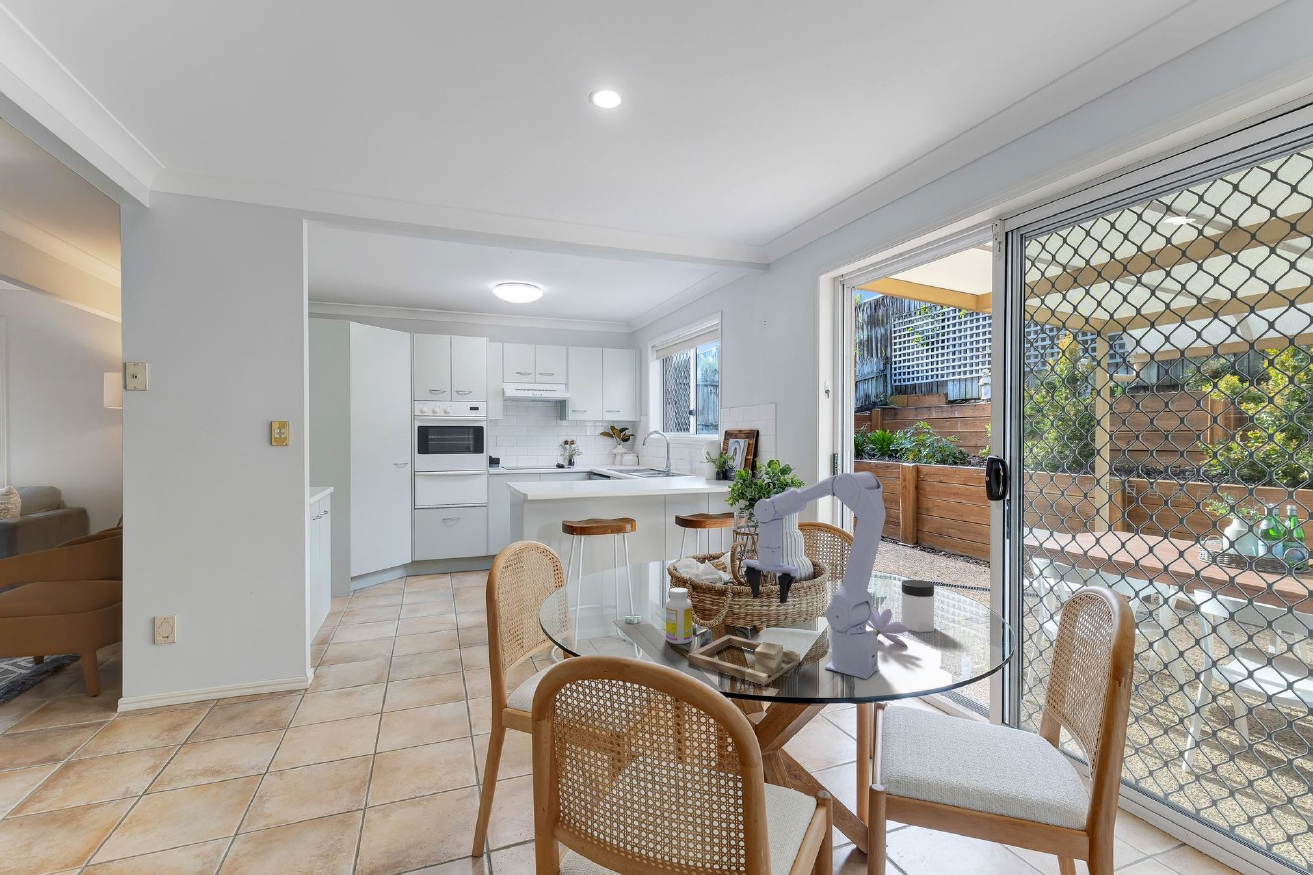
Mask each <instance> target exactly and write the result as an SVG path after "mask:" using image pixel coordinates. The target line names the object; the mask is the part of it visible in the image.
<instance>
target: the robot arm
mask: <svg viewBox="0 0 1313 875" xmlns="http://www.w3.org/2000/svg"><path fill="white" fill-rule="evenodd" d="M883 490H884V485H883V483H882V482H881V481H880V480H879V478H878V477H877V475H876V474H874V472H871V471H866V470H865V471H860V472H858V471H857V472H843V473H840V474H837V475H836V474H835V475H832V476H829V477H826V478H824V479H822V480H820V481H818V482H815V483H814V484H812V485H810V486H809V485H808V486H807V487H805V488H803V489H800V488H798V487H792V486H790V487H789V486H787V487H786V488H785V489H784V491H783V492H781V493H778V494H776V493H774V494H771V495H770V498H761V499H759V500H757V501H756V502H755V504H754V507H753V514H754V517H755V519H756V520H757V521H758V524H757V525H758V529H757V530H758V531H757V532H758V534H757V535H758V538H757V539H758V542H757V544H758V545H757V547H758V548H757V549H758V551H757V552H758V553H757V554H758V556H757V558H758V559H748V558H746V559H743V560H742V568H743V569H745V570H744V571H743V574H744V575H745V578H746V579H747V581H748V584H749V587H750V591H751V594H752V595H753V598H759V597H760V591H761V590H760V588H761V587H760V586H761V585H760V584H761V575H762V571H765V572H770V573H775V574H779V575H777V581H778V586H779V603H780V604H781V605H783V604H785V603H787V601H788V595H789V592H790V590H791V587H792V585H793V583H794V581H795V579H796V577H797V576H798V575H799V567H798V566H792V565H790V564H785V563H782V527H783V525H784V524H783V523H784V520H785V518H786V517H789V516H791V515H794V514H796V513H799V512H802V511H804V510H805V509H806V507H807V505H808V503H809V502H813V501H816V500H819V499H823V498H824V497H827V496H831V497H836V498H837V499H838V500H839V501H840V502H842V504H844V505H845V506H846V508H848V509H850V510H851V512H852V513H853V514H854V516H855V517H856V518H857V521H856V526H855V529H854V533H853V537H852V538H853V539H852V542H851V546H850V550H849V554H848V558H847V562H846V565H845V566H846V567H845V571H844V574H843V580H842V584H841V586H840V587H839V588H838V589H837V591H836V592H835V593H834V594H833V597H832V600H831V602H830V603H829V604H828V605H827V607H826V609H825V617H826V620H827V623H828V625H830V629H831V661H830V662H829V663H826V664H825V665H824V668H825V669H826V670H830V671H834V672H838V673H842V674H846V675H848V676H852V677H857V678H860V679H864V680H867V679H869V678H870V677H871V676H872V675H873V674H874V673H876V672H877V670H878V669H879V668H880V666H879V664H878V662H879V660H878V659H879V658H878V657H879V651H878V650H879V643H878V642H879V641H878V637H877V636H876V635H875V634H873V633H870V632H868V631H869V630H867V625H866V622H867V621H868V622H870V620H869V619H870V618H871V615H872V612H873V609H872V603H871V602H872V598H873V595H872V594H871V593H870V592H869V591H868V588H869V585H870V581H871V578H872V573H873V568H874V565H875V561H876V557H877V553H878V549H879V545H880V542H881V537H882V533H883V529H884V527H885V526H884V525H885V521H886V515H887V514H886V513H887V512H886V508H885V503H884V499H883V498H884V497H883V494H882V493H883Z"/></svg>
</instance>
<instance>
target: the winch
mask: <svg viewBox="0 0 1313 875" xmlns="http://www.w3.org/2000/svg"><path fill="white" fill-rule="evenodd" d="M697 629H698V628H697V627H696V626H692V638H693V637H694V638H698V637H699V640H700V641H699V645H700V646H701V645H702V646H701V647H704V646H706V645H708V644H710V643H712V642H713V630H711V629H707V628H704V629H700V630H699V631H698V630H697Z"/></svg>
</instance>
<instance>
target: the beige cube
mask: <svg viewBox="0 0 1313 875" xmlns="http://www.w3.org/2000/svg"><path fill="white" fill-rule="evenodd" d="M761 643H762V644H761V645H760V646H759V647H758V648H757V649H756V650H755V652H753V653H754V654H753V655H754V671H758V672H761V673H765V674H768V677H769V676H770V677H772V676H773V675H775V674H776V673H778V672H779V671H781V670H782V669H783V660H782V656H783V649H784V646H783V645H782V644H776V643H771V642H765V641H763V642H761Z"/></svg>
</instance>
